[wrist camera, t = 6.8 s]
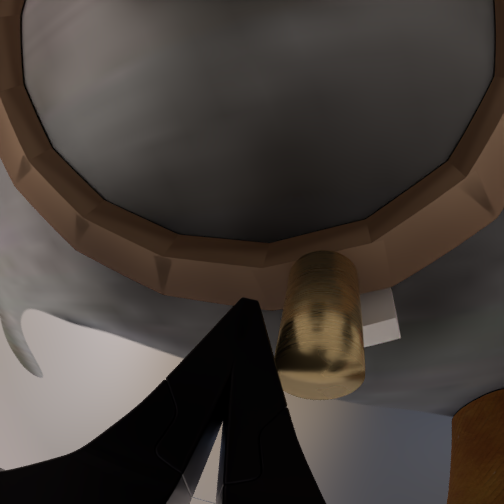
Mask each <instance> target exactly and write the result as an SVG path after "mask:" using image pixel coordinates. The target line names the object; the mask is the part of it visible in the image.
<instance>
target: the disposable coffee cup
mask: <svg viewBox="0 0 504 504" xmlns="http://www.w3.org/2000/svg"><path fill="white" fill-rule="evenodd" d="M447 504H504V389H502V390H498V391H495V392H492V393H489V394H486V395H484V396H482V397H480V398H478V399H477V400H475V401H473V402H471V403H469V404H468V405H466V406H465V407H463V408H462V409H461V410H460V411H458V412H457V413H456V414H455V416H454V417H453V419H452V450H451V470H450V482H449V492H448V499H447Z"/></svg>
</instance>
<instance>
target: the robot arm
mask: <svg viewBox="0 0 504 504" xmlns="http://www.w3.org/2000/svg"><path fill="white" fill-rule="evenodd" d="M222 422H223V427H222V437H221V449H220V460H219V471H218V482H217V494H216V504H326V502H325V500H324V499H323V496H322V494H321V492H320V490H319V488H318V485H317V483H316V481H315V479H314V477H313V475H312V472H311V470H310V468H309V466H308V464H307V461H306V459H305V457H304V454H303V452H302V449H301V447H300V444H299V442H298V439H297V436H296V433H295V430H294V427H293V423H292V420H291V417H290V413H289V410H288V408H287V403H286V399H285V395H284V392H283V388H282V385H281V381H280V377H279V374H278V370H277V366H276V363H275V359H274V355H273V352H272V348H271V344H270V341H269V337H268V333H267V330H266V326H265V322H264V319H263V315H262V311H261V307H260V304H259V301H258V300H254V299H249V298H245V297H242V298H241V299H239V301H238V302H237V303H236V304H235V305H234V306H233V307H232V308H231V309H230V310H229V311H228V312H227V314H226V315H225V316H224V317H223V318H222V319H221V320H220V321H219V322H218V323H217V324H216V325H215V326H214V328H213V329H212V330H211V331H210V332H209V333H208V334H207V335H206V336H205V337H204V338H203V339H202V340H201V341H200V342H199V344H198V345H197V346H196V347H195V348H194V349H193V350H192V351H191V352H190V353H189V354H188V355H187V356H186V357H185V358H184V359H183V360H182V362H181V363H180V364H179V365H178V366H177V367H176V368H175V369H174V370H173V371H172V372H171V373H170V374H169V375H168V376H167V377H166V380H163V381H162V382H161V384H159V385H158V387H156V389H155V390H154V391H152V392H151V394H149V395H148V397H146V398H145V399H144V400H143V401H142V402H141V403H140V404H139V405H137V406H136V407H135V408H134V409H133V410H131V411H130V412H129V413H128V414H127V415H125V416H124V417H123V418H122V419H120V420H119V421H118V422H116V423H115V424H114V425H112V426H111V427H110V428H108V429H107V430H106V431H105V432H103V433H102V434H100V435H99V436H98V437H96V438H95V439H94V440H92V441H91V442H89V443H88V444H87V445H85V446H83V447H82V448H80V449H78V450H76V451H74V452H72V453H70V454H67V455H64V456H61V457H57V458H54V459H50V460H47V461H43V462H39V463H35V464H32V465H28V466H24V467H20V468H15V469H11V470H3V469H2V468H0V504H190V501H191V497H192V496H193V494H194V492H195V489H196V487H197V484H198V482H199V480H200V477H201V474H202V472H203V470H204V467H205V465H206V462H207V460H208V457H209V455H210V452H211V450H212V447H213V445H214V442H215V440H216V437H217V435H218V432H219V430H220V427H221V424H222Z"/></svg>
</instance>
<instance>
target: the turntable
mask: <svg viewBox="0 0 504 504" xmlns="http://www.w3.org/2000/svg"><path fill="white" fill-rule="evenodd" d="M494 1H495V18H496V58H495V76H494V78H493V80H492V82H491V84H490V87H489V89H488V91H487V92H486V94H485V96H484V98H483V100H482V102H481V104H480V106H479V108H478V110H477V112H476V113H475V115H474V117H473V119H472V121H471V123H470V124H469V126H468V128H467V130H466V131H465V133H464V135H463V137H462V138H461V140H460V142H459V143H458V145H457V147H456V149H455V150H454V152H453V153H452V155H451V157H450V158H449V160H448V161H447V162H446V163H444V164H443V165H442V166H440V167H439V168H437V169H436V170H435V171H433V172H432V173H431V174H429V175H428V176H426V177H425V178H424V179H422V180H421V181H420V182H418V183H417V184H415V185H414V186H413V187H411V188H410V189H408V190H407V191H406V192H404V193H403V194H401V195H400V196H398V197H397V198H396V199H394V200H393V201H391V202H390V203H389V204H387V205H386V206H384V207H383V208H381V209H380V210H378V211H377V212H376V213H374V214H373V215H371V216H370V217H368V218H367V219H365V220H361V221H357V222H353V223H349V224H345V225H341V226H337V227H333V228H329V229H324V230H320V231H316V232H312V233H308V234H304V235H300V236H296V237H292V238H288V239H284V240H280V241H276V242H272V243H262V242H252V241H242V240H231V239H221V238H210V237H200V236H189V235H178V234H176V233H174V232H172V231H170V230H167V229H165V228H163V227H161V226H159V225H157V224H154V223H152V222H150V221H148V220H146V219H143V218H141V217H139V216H137V215H135V214H133V213H131V212H128V211H126V210H124V209H122V208H120V207H118V206H115V205H113V204H111V203H109V202H107V201H105V200H103V199H102V198H101V197H100V196H99V195H98V194H97V193H96V192H95V191H94V190H93V189H92V188H91V187H90V186H89V185H88V184H87V183H86V182H85V181H84V180H83V179H82V178H81V177H80V176H79V175H78V174H77V173H76V172H75V171H74V170H73V169H72V168H71V167H70V166H69V165H68V164H67V163H66V162H65V161H64V160H63V159H62V158H61V157H60V156H59V155H58V154H57V153H56V152H55V151H54V150H53V149H52V147H51V145H50V143H49V141H48V139H47V137H46V135H45V133H44V131H43V129H42V127H41V124H40V122H39V120H38V118H37V116H36V113H35V111H34V109H33V106H32V104H31V102H30V99H29V97H28V95H27V92H26V90H25V87H24V85H23V76H22V63H21V44H20V14H21V10H22V7H23V3H24V0H0V158H1V160H2V162H3V164H4V166H5V168H6V170H7V172H8V174H9V176H10V178H11V180H12V182H13V184H14V186H15V187H16V188H17V189H18V191H19V192H20V193H21V194H22V195H23V196H24V197H25V198H26V200H27V201H28V202H29V203H30V204H31V205H32V206H33V207H34V208H35V209H36V210H37V211H38V212H39V214H40V215H41V216H42V217H43V218H44V219H45V220H46V221H47V222H48V223H49V224H50V225H51V226H52V227H53V228H54V229H55V230H56V231H57V232H58V233H59V234H60V235H61V236H62V237H63V238H64V239H65V240H66V241H67V242H68V243H69V244H70V245H71V246H72V247H73V248H74V249H75V250H77V251H78V252H80V253H82V254H84V255H86V256H88V257H89V258H91V259H93V260H95V261H97V262H99V263H101V264H103V265H104V266H106V267H108V268H110V269H112V270H114V271H116V272H118V273H120V274H122V275H124V276H126V277H128V278H130V279H132V280H134V281H136V282H138V283H140V284H142V285H144V286H146V287H148V288H150V289H152V290H154V291H156V292H158V293H160V294H162V295H168V296H174V297H180V298H186V299H192V300H199V301H205V302H212V303H219V304H225V305H233V306H234V305H235V304H236V303H237V302H238V301H239V299H241V298H242V297H245V298H249V299H254V300H258V301H259V304H260V307H261V309H263V310H271V311H273V310H279V309H283V313H282V319H281V324H280V330H279V335H278V341H277V346H276V351H275V356H274V359H275V363H276V366H277V370H278V374H279V377H280V381H281V385H282V388H283V391H285V392H287V393H289V394H291V395H294V396H296V397H300V398H304V399H311V400H328V399H335V398H339V397H342V396H345V395H348V394H350V393H352V392H353V391H355V390H356V389H357V388H359V387H360V386H361V384H362V383H363V381H364V379H365V357H364V339H363V325H362V312H361V301H360V294H363V293H367V292H372V291H376V290H381V289H385V288H390V287H393V286H394V285H396V284H398V283H399V282H401V281H403V280H404V279H406V278H408V277H409V276H411V275H413V274H414V273H416V272H418V271H419V270H421V269H423V268H424V267H426V266H427V265H429V264H430V263H432V262H434V261H435V260H437V259H438V258H440V257H441V256H443V255H444V254H446V253H448V252H449V251H451V250H452V249H454V248H455V247H457V246H458V245H460V244H461V243H462V242H464V241H465V240H467V239H468V238H470V237H471V236H473V235H474V234H476V233H477V232H478V231H480V230H481V229H483V228H484V227H485V226H487V225H488V224H490V223H491V222H492V221H494V220H495V219H496V218H497V217H498V216H499V214H500V213H501V211H502V210H503V208H504V0H494Z"/></svg>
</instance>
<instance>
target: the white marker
mask: <svg viewBox="0 0 504 504" xmlns="http://www.w3.org/2000/svg"><path fill="white" fill-rule="evenodd" d="M360 301H361V312H362V325H363V339H364V347H368V346H372V345H376V344H380V343H384V342H388V341H392V340H396V339H400V338H401V335H400V329H399V324H398V318H397V313H396V308H395V303H394V298H393V294H392V290H391V287H390V288H385V289H381V290H376V291H372V292H367V293H363V294H360Z"/></svg>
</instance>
